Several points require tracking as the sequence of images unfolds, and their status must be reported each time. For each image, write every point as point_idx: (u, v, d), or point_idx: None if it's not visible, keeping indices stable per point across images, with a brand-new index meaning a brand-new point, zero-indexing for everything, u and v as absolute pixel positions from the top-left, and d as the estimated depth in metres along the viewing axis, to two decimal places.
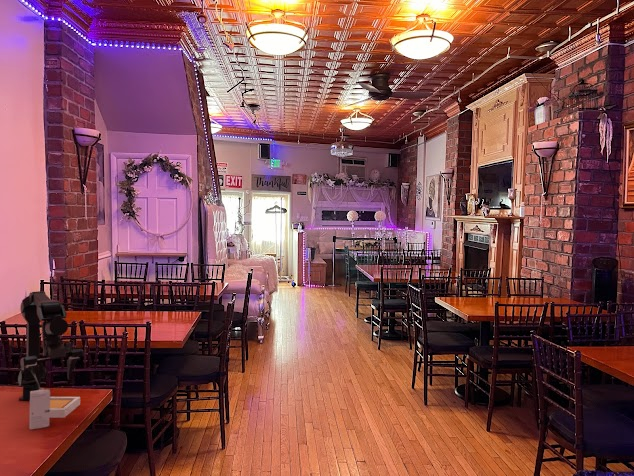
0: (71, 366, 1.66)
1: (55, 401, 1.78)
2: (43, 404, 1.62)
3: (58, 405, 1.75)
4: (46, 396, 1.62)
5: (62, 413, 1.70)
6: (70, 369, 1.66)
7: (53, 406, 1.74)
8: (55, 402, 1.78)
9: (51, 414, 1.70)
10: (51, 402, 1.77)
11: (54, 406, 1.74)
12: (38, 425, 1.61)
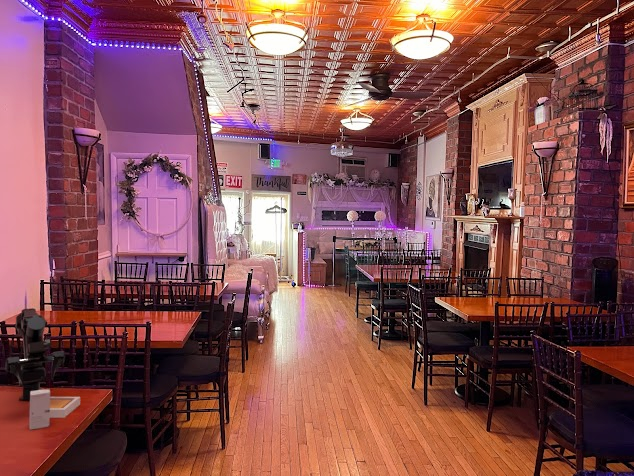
0: (53, 366, 1.74)
1: (55, 401, 1.78)
2: (43, 404, 1.62)
3: (58, 405, 1.75)
4: (46, 396, 1.62)
5: (62, 413, 1.70)
6: (52, 369, 1.73)
7: (53, 406, 1.74)
8: (55, 402, 1.78)
9: (51, 414, 1.70)
10: (51, 402, 1.77)
11: (54, 406, 1.74)
12: (38, 425, 1.61)
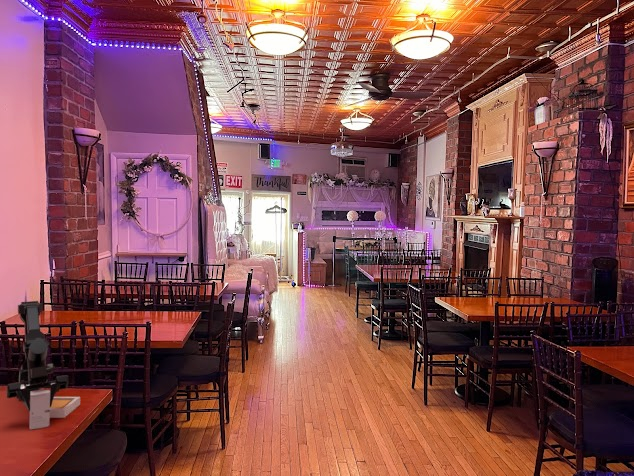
0: (52, 392, 1.66)
1: (55, 401, 1.78)
2: (43, 404, 1.62)
3: (58, 405, 1.75)
4: (46, 396, 1.62)
5: (62, 413, 1.70)
6: (51, 395, 1.65)
7: (53, 406, 1.74)
8: (55, 402, 1.78)
9: (51, 414, 1.70)
10: None
11: (54, 406, 1.74)
12: (38, 424, 1.61)
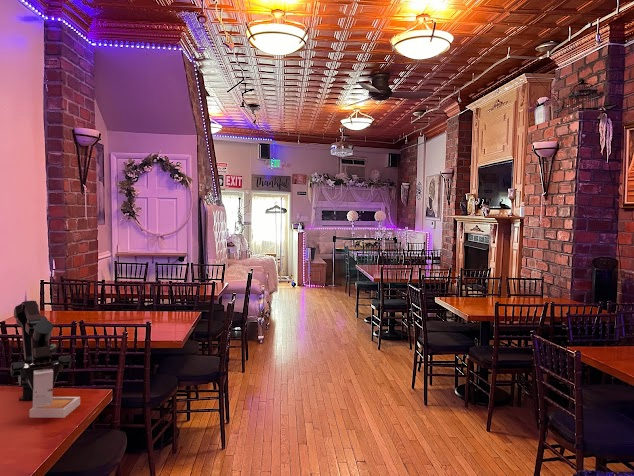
0: (55, 372, 1.68)
1: (55, 401, 1.78)
2: (46, 383, 1.64)
3: (58, 405, 1.75)
4: (49, 376, 1.65)
5: (62, 413, 1.70)
6: (54, 375, 1.68)
7: (53, 406, 1.74)
8: (55, 402, 1.78)
9: (51, 414, 1.70)
10: None
11: (54, 406, 1.74)
12: (41, 403, 1.64)
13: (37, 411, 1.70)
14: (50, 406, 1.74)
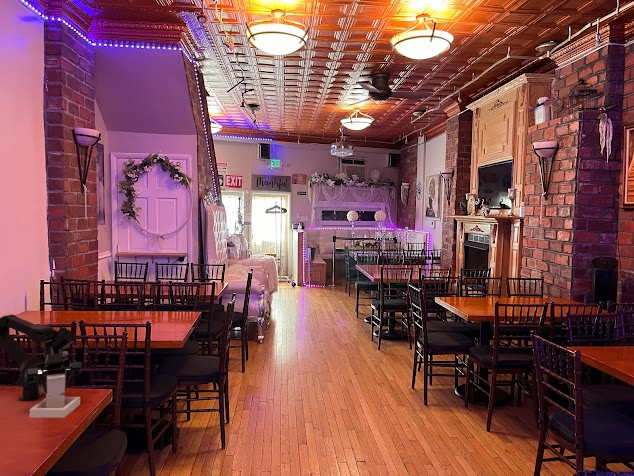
0: (67, 377, 1.79)
1: None
2: (58, 387, 1.75)
3: None
4: (62, 380, 1.75)
5: (62, 413, 1.70)
6: (66, 380, 1.78)
7: None
8: None
9: (51, 414, 1.70)
10: None
11: None
12: (54, 406, 1.74)
13: (37, 411, 1.70)
14: None
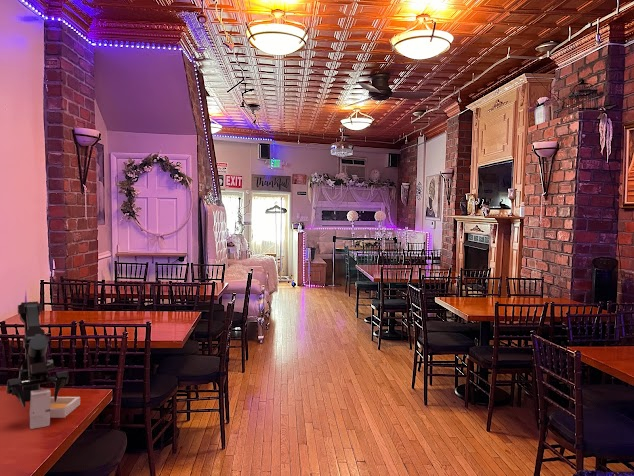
0: (56, 387, 1.67)
1: (55, 404, 1.79)
2: (43, 403, 1.62)
3: None
4: (47, 396, 1.63)
5: (62, 413, 1.70)
6: (56, 390, 1.66)
7: None
8: (55, 405, 1.78)
9: (51, 414, 1.70)
10: (51, 405, 1.77)
11: None
12: (39, 424, 1.61)
13: None
14: None
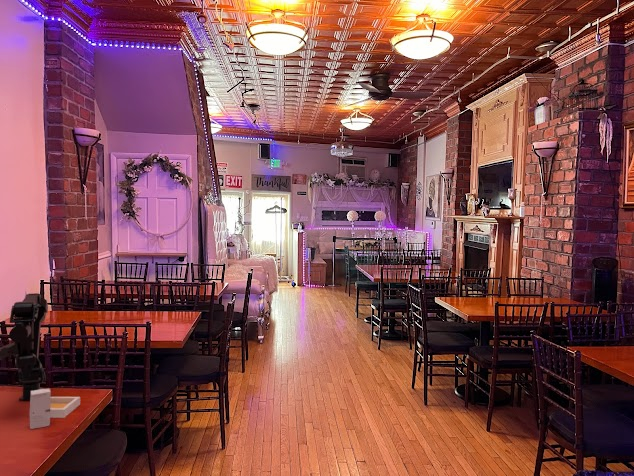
0: (21, 370, 1.69)
1: (55, 404, 1.79)
2: (43, 403, 1.62)
3: None
4: (47, 396, 1.63)
5: (62, 413, 1.70)
6: (21, 372, 1.69)
7: None
8: (55, 405, 1.78)
9: (51, 414, 1.70)
10: (51, 405, 1.77)
11: None
12: (39, 424, 1.61)
13: None
14: None
